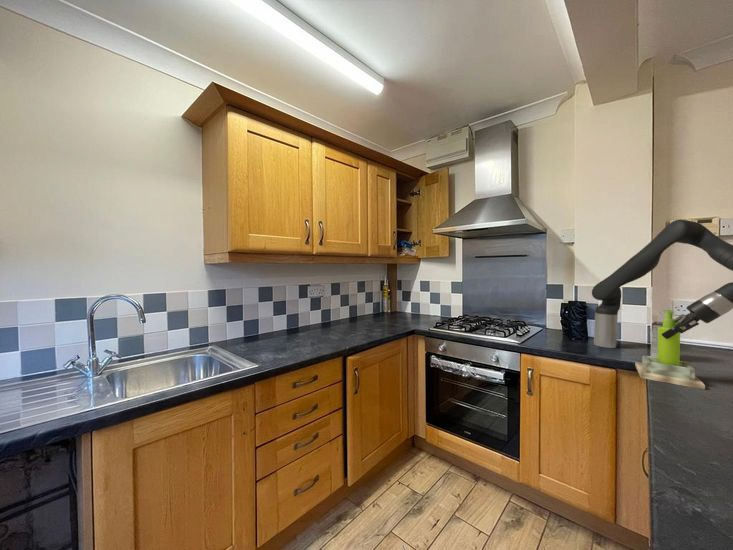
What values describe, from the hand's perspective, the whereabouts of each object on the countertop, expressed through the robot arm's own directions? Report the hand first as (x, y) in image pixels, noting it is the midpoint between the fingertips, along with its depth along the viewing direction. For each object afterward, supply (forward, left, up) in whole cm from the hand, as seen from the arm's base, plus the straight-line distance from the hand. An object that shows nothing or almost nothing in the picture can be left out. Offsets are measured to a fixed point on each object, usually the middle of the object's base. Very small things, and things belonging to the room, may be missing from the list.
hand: (662, 335), depth 112 cm
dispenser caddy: (+2, 0, -15) cm, 15 cm away
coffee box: (+5, +33, -16) cm, 37 cm away
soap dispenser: (+2, 0, -10) cm, 11 cm away
